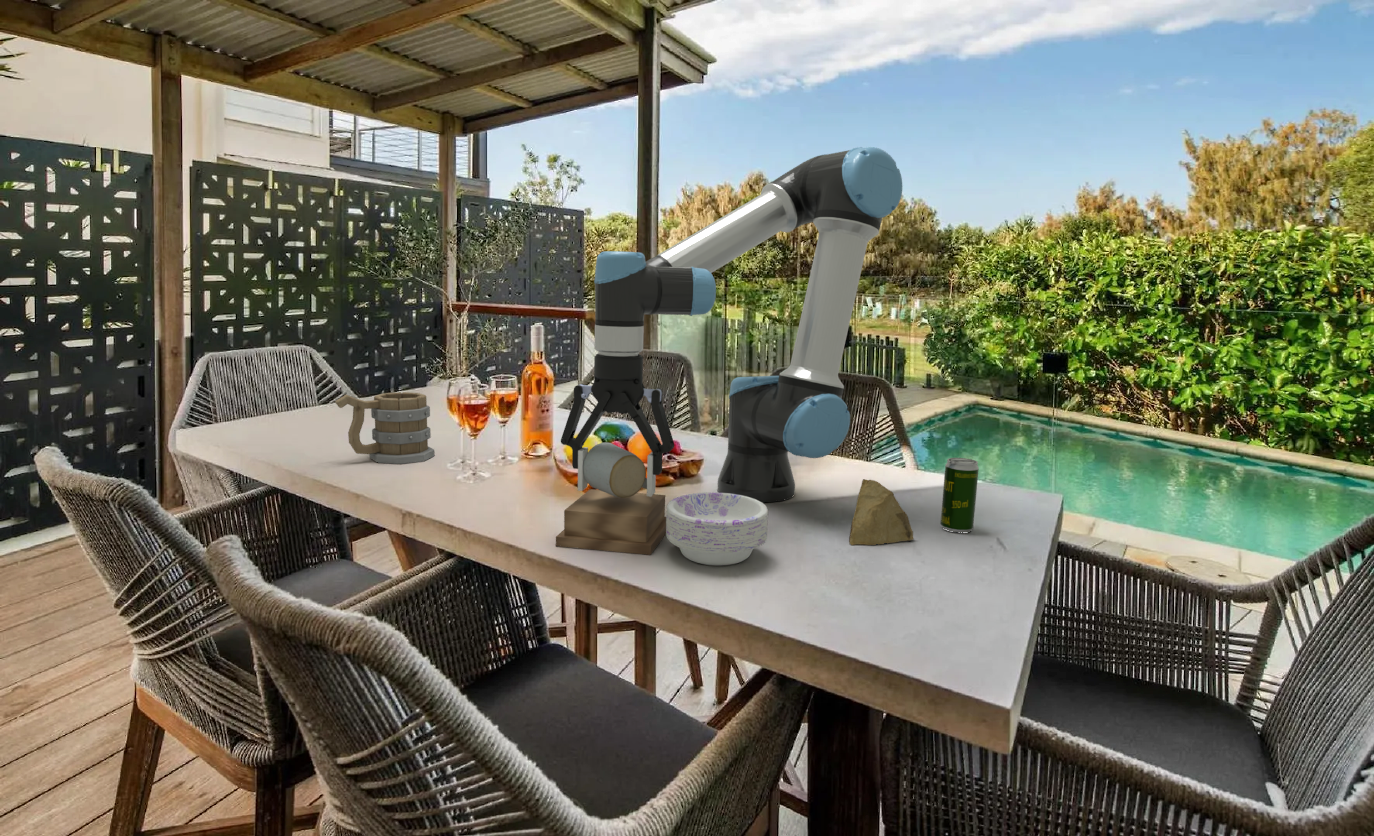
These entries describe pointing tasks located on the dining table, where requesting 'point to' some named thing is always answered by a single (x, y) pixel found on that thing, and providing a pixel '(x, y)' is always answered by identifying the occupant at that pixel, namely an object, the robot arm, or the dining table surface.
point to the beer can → (959, 494)
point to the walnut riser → (614, 523)
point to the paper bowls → (716, 526)
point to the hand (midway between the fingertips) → (616, 491)
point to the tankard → (392, 427)
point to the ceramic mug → (614, 470)
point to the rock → (878, 517)
